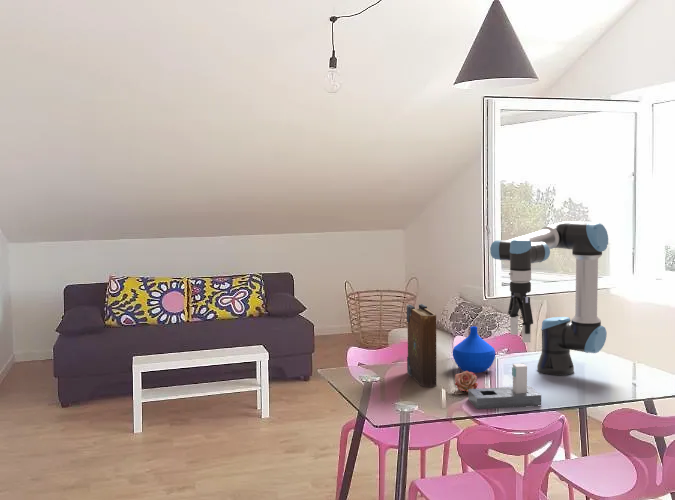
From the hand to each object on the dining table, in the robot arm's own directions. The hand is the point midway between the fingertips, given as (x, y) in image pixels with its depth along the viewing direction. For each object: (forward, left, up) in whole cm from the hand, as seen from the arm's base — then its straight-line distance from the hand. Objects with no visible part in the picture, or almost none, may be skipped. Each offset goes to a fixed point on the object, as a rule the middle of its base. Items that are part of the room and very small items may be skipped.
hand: (520, 338), depth 276 cm
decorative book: (+29, -37, -25) cm, 53 cm away
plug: (0, 0, -24) cm, 24 cm away
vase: (+4, -48, -25) cm, 54 cm away
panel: (+6, 0, -25) cm, 25 cm away
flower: (+16, -16, -25) cm, 34 cm away
